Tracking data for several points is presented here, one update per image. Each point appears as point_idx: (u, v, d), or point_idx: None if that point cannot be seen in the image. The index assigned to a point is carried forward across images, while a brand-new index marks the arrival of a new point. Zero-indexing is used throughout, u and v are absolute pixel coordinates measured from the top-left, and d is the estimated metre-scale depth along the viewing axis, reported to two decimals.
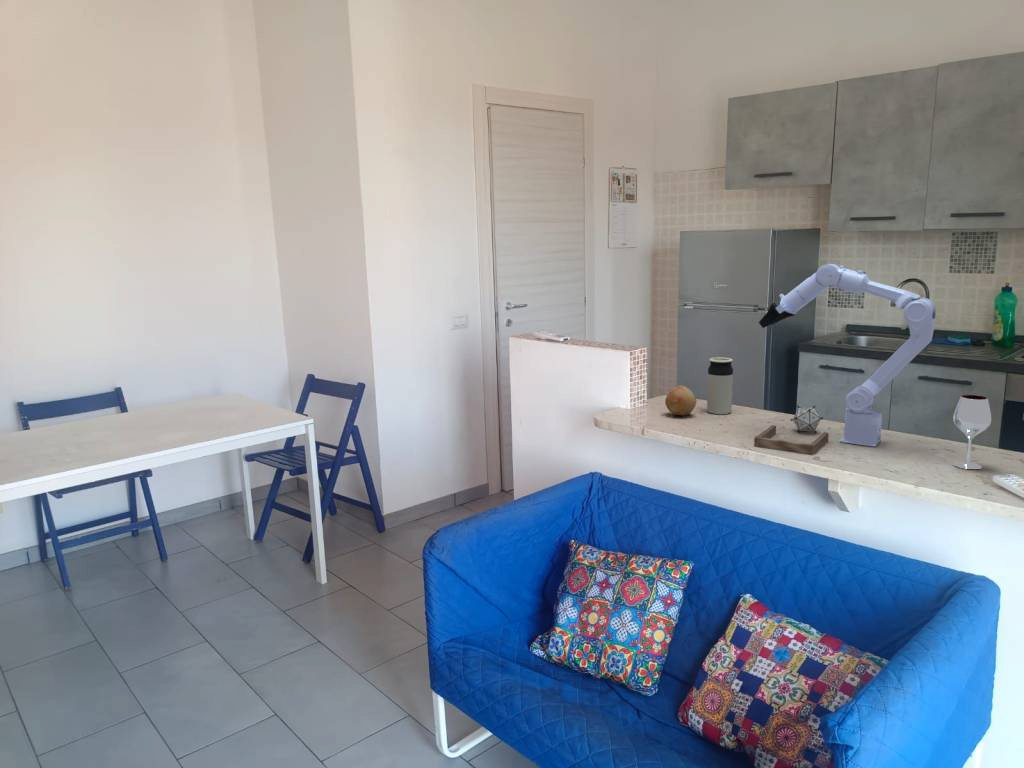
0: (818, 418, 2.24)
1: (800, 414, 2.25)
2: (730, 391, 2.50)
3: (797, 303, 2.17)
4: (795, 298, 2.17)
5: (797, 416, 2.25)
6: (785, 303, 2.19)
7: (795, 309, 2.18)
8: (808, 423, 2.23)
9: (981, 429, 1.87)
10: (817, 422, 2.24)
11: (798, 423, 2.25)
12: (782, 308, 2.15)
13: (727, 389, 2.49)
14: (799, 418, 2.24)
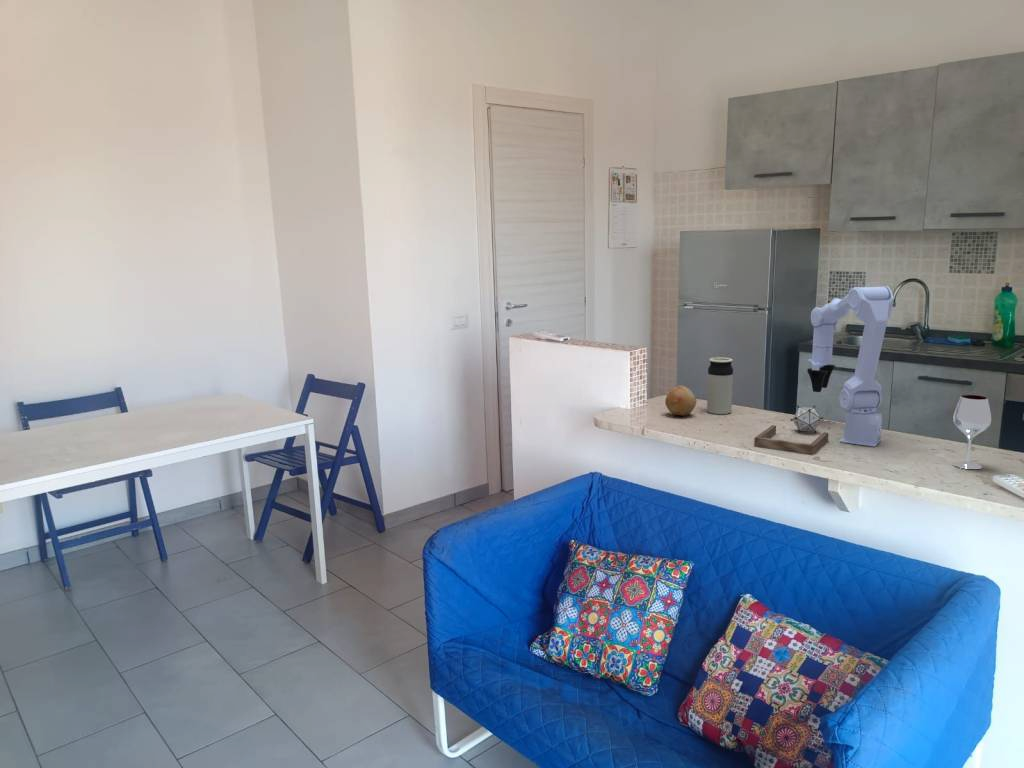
0: (818, 418, 2.24)
1: (800, 414, 2.25)
2: (730, 391, 2.50)
3: (824, 354, 2.31)
4: (819, 351, 2.32)
5: (797, 416, 2.25)
6: (816, 361, 2.33)
7: (828, 359, 2.32)
8: (808, 423, 2.23)
9: (981, 429, 1.87)
10: (817, 422, 2.24)
11: (798, 423, 2.25)
12: (816, 365, 2.29)
13: (727, 389, 2.49)
14: (799, 418, 2.24)
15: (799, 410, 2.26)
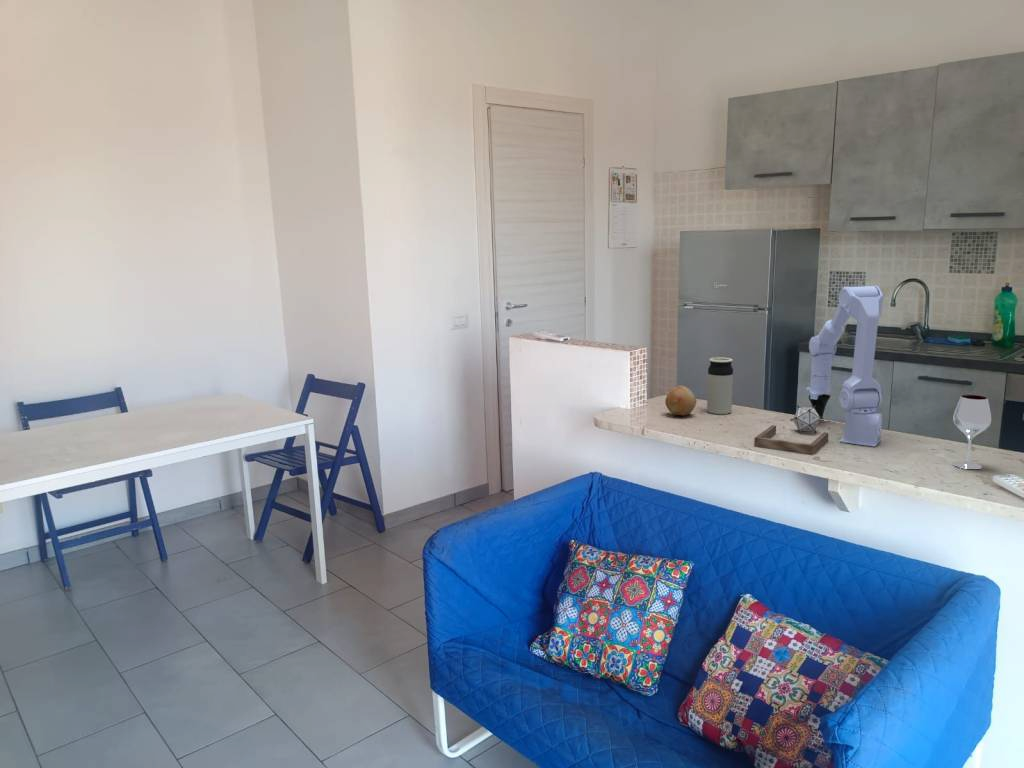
0: (818, 418, 2.24)
1: (800, 414, 2.25)
2: (730, 391, 2.50)
3: (823, 383, 2.33)
4: (817, 380, 2.34)
5: (797, 416, 2.25)
6: (815, 390, 2.34)
7: (826, 388, 2.33)
8: (808, 423, 2.23)
9: (981, 429, 1.87)
10: (817, 422, 2.24)
11: (798, 423, 2.25)
12: (814, 394, 2.30)
13: (727, 389, 2.49)
14: (799, 418, 2.24)
15: (799, 410, 2.26)
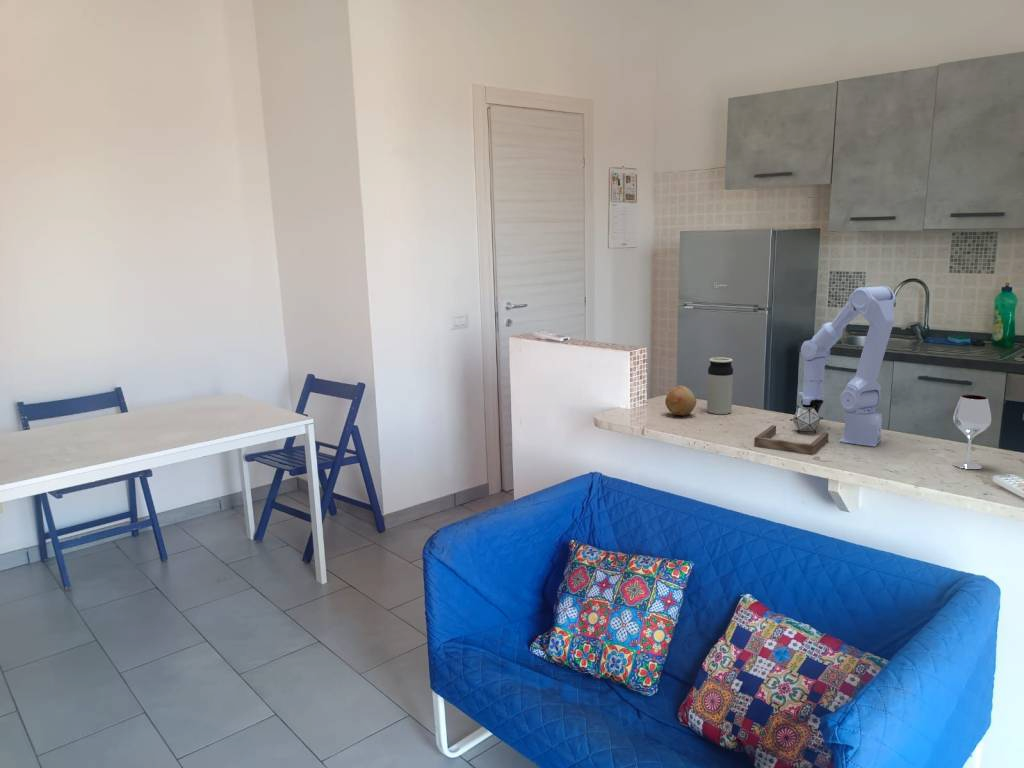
0: (818, 418, 2.24)
1: (800, 414, 2.25)
2: (730, 391, 2.50)
3: (815, 388, 2.26)
4: (810, 385, 2.27)
5: (797, 416, 2.25)
6: (807, 395, 2.28)
7: (819, 393, 2.27)
8: (808, 423, 2.23)
9: (981, 429, 1.87)
10: (817, 422, 2.24)
11: (798, 423, 2.25)
12: (807, 399, 2.24)
13: (727, 389, 2.48)
14: (799, 418, 2.24)
15: (799, 410, 2.26)
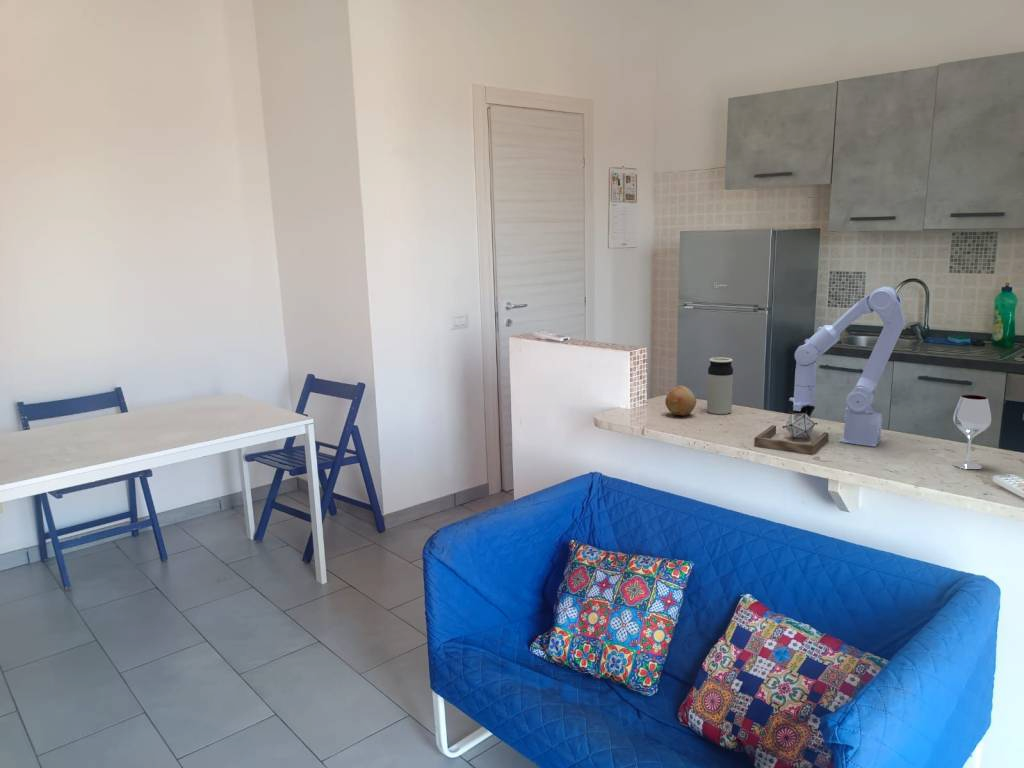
0: (812, 424, 2.17)
1: (795, 421, 2.17)
2: (730, 391, 2.50)
3: (807, 393, 2.19)
4: (801, 391, 2.19)
5: (792, 423, 2.17)
6: (798, 401, 2.20)
7: (810, 399, 2.19)
8: (804, 429, 2.16)
9: (981, 429, 1.87)
10: (811, 428, 2.17)
11: (793, 430, 2.18)
12: (798, 405, 2.16)
13: (727, 389, 2.48)
14: (794, 425, 2.17)
15: (792, 416, 2.19)
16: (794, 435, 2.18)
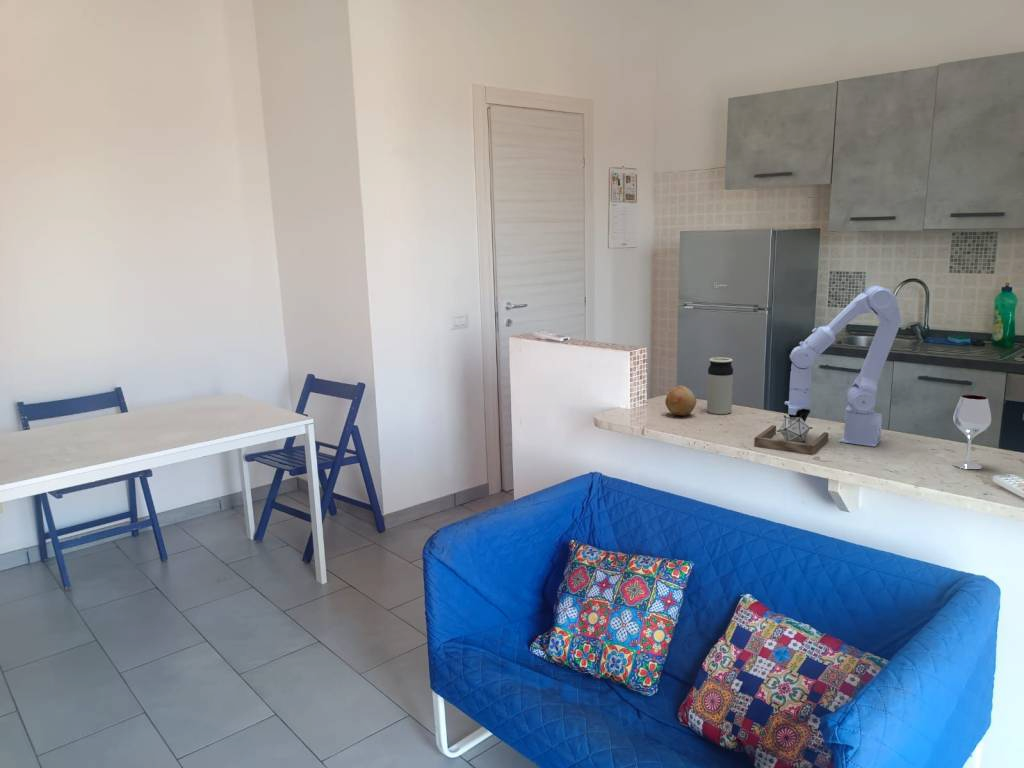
0: (807, 428, 2.13)
1: (789, 425, 2.13)
2: (730, 391, 2.50)
3: (802, 397, 2.15)
4: (796, 394, 2.15)
5: (786, 427, 2.13)
6: (793, 404, 2.16)
7: (806, 402, 2.15)
8: (798, 434, 2.11)
9: (981, 429, 1.87)
10: (806, 432, 2.13)
11: (787, 434, 2.13)
12: (793, 409, 2.12)
13: (727, 389, 2.48)
14: (788, 429, 2.12)
15: (787, 420, 2.14)
16: (789, 439, 2.14)
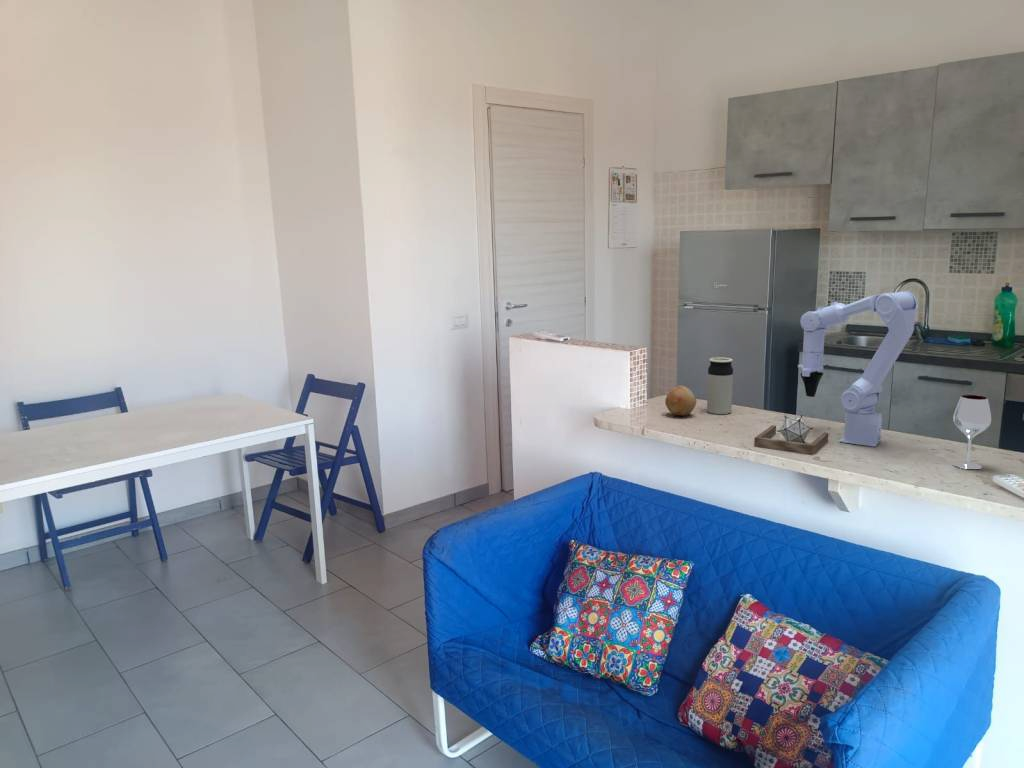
0: (808, 428, 2.13)
1: (789, 425, 2.13)
2: (730, 391, 2.50)
3: (815, 359, 2.23)
4: (809, 357, 2.23)
5: (786, 427, 2.13)
6: (807, 367, 2.24)
7: (818, 365, 2.23)
8: (799, 434, 2.11)
9: (981, 429, 1.87)
10: (807, 432, 2.13)
11: (787, 434, 2.13)
12: (806, 371, 2.20)
13: (727, 389, 2.48)
14: (789, 429, 2.12)
15: (787, 421, 2.14)
16: (789, 440, 2.14)
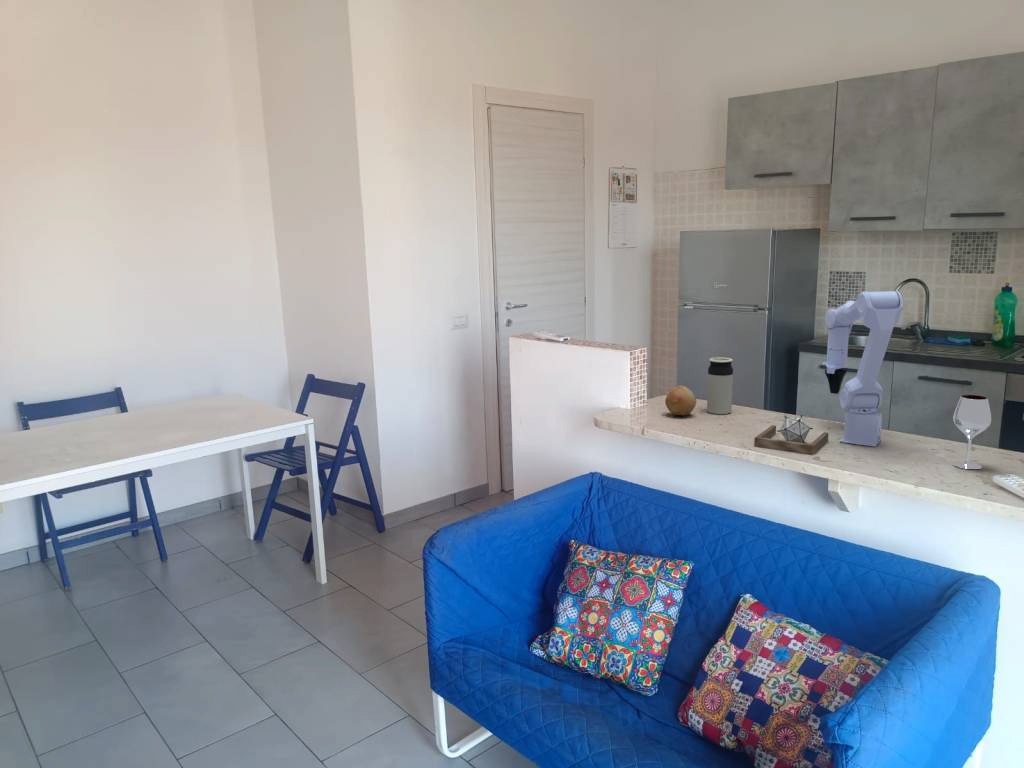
0: (808, 428, 2.13)
1: (789, 425, 2.13)
2: (730, 391, 2.50)
3: (839, 357, 2.26)
4: (834, 354, 2.27)
5: (786, 427, 2.13)
6: (831, 364, 2.27)
7: (843, 362, 2.26)
8: (799, 434, 2.11)
9: (981, 429, 1.87)
10: (807, 432, 2.13)
11: (787, 434, 2.13)
12: (831, 368, 2.23)
13: (727, 389, 2.48)
14: (789, 429, 2.12)
15: (787, 421, 2.14)
16: (789, 440, 2.14)
